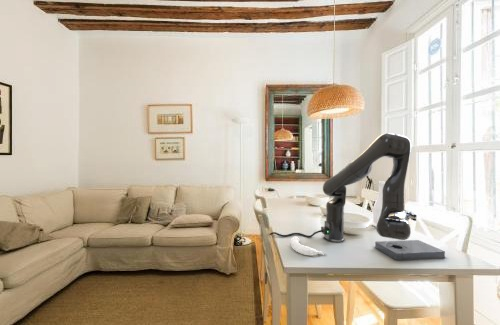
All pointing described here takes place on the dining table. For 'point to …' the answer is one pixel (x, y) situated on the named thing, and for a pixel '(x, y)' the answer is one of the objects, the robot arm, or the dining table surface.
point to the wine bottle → (378, 204)
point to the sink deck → (409, 250)
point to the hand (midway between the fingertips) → (399, 211)
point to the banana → (303, 248)
